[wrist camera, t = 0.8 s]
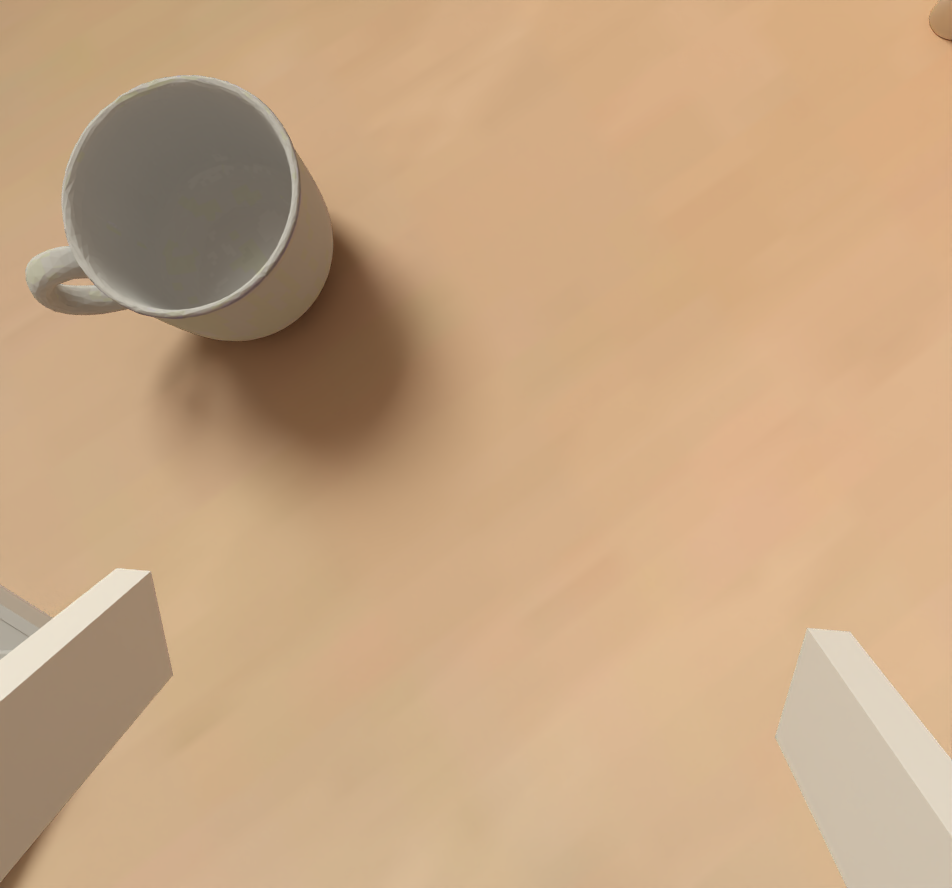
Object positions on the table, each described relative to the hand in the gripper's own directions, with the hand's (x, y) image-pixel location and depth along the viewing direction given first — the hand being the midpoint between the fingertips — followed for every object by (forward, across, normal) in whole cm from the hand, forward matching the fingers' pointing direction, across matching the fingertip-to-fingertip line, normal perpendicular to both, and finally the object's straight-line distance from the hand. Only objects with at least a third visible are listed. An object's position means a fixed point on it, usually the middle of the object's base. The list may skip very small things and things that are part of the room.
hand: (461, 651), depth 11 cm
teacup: (+22, +16, -5) cm, 28 cm away
